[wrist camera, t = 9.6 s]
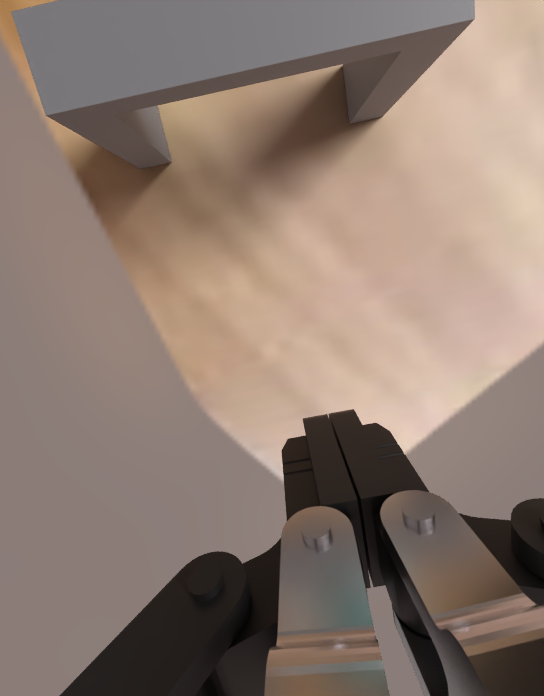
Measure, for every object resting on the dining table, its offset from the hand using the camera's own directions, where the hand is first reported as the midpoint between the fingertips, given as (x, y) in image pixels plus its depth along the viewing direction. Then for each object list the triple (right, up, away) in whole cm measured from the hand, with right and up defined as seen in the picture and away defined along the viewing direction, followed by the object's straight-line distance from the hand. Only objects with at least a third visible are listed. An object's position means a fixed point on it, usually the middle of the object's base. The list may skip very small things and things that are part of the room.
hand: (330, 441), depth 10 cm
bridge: (-3, +17, +11) cm, 20 cm away
